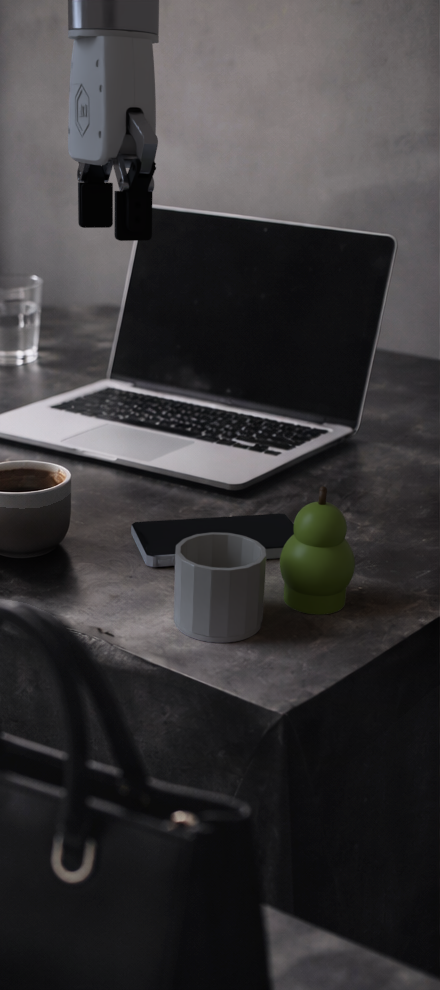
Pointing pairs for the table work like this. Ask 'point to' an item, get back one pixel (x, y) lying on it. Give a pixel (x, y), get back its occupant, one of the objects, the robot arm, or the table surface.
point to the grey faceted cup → (219, 587)
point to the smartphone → (165, 534)
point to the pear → (317, 559)
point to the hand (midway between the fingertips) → (113, 233)
